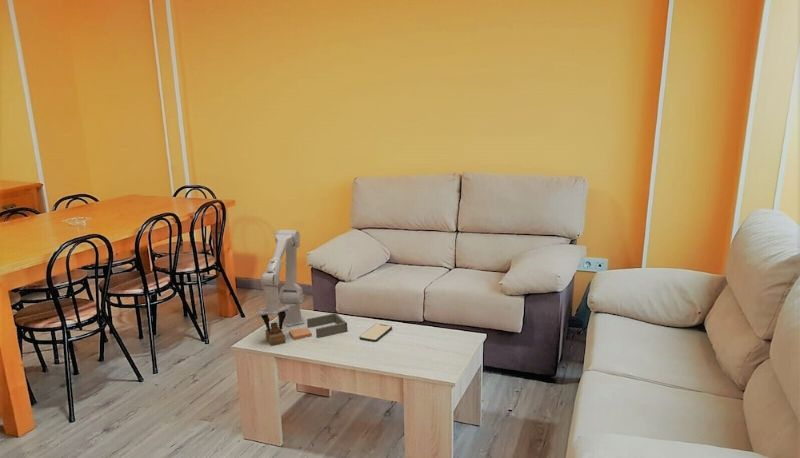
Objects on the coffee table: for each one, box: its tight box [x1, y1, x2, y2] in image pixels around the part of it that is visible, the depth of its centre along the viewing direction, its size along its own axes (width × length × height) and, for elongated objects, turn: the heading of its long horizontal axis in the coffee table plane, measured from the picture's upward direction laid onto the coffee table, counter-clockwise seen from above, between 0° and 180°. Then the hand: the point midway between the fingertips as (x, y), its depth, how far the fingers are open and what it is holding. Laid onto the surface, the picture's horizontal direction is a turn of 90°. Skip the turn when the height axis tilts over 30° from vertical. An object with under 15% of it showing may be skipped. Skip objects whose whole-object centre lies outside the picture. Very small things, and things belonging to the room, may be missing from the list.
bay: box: [306, 312, 348, 339], centre depth 265 cm, size 14×14×4 cm
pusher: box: [264, 321, 286, 347], centre depth 254 cm, size 10×6×8 cm, turn 26°
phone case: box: [358, 323, 393, 343], centre depth 258 cm, size 9×2×16 cm
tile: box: [288, 326, 313, 341], centre depth 260 cm, size 8×8×2 cm
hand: (274, 329), depth 254 cm, fingers open, 5 cm apart
